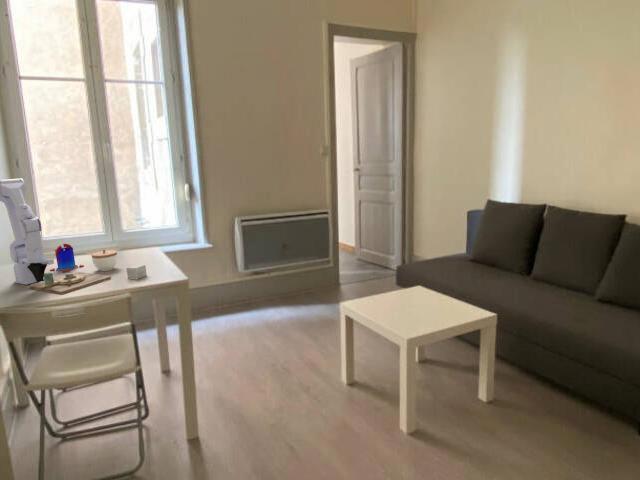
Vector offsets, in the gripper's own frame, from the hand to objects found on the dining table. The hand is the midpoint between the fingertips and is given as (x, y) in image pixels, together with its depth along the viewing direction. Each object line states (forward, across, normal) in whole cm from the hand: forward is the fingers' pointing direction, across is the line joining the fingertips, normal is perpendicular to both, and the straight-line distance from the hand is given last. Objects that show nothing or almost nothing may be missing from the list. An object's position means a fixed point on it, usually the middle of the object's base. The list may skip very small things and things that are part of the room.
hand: (40, 281), depth 185 cm
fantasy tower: (+3, -13, +28) cm, 31 cm away
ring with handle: (+2, +7, +5) cm, 9 cm away
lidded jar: (+3, +8, +29) cm, 30 cm away
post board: (+3, +8, +7) cm, 11 cm away
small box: (+3, +31, +19) cm, 37 cm away
